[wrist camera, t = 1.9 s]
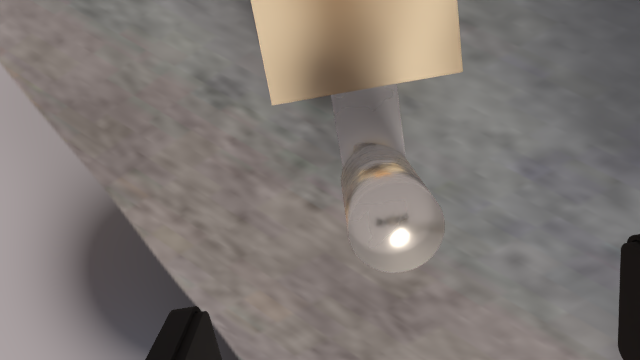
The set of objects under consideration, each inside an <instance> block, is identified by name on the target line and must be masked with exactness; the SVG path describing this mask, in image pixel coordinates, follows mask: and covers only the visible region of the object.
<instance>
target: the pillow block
mask: <svg viewBox="0 0 640 360" xmlns="http://www.w3.org/2000/svg"><path fill="white" fill-rule="evenodd" d="M251 4H252V9H253V14H254V19H255V24H256V28H257V33H258V38H259V43H260V48H261V53H262V58H263V63H264V68H265V73H266V77H267V82H268V87H269V92H270V97H271V102H272V105H277V104H282V103H288V102H294V101H300V100H305V99H311V98H317V97H322V96H328V95H334V94H340V93H345V92H351V91H357V90H362V89H368V88H374V87H379V86H385V85H391V84H397V83H402V82H408V81H414V80H419V79H425V78H431V77H437V76H442V75H448V74H454V73H459V72H463V69H462V56H461V44H460V31H459V18H458V6H457V0H251Z"/></svg>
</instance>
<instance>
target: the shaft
mask: <svg viewBox="0 0 640 360" xmlns="http://www.w3.org/2000/svg"><path fill="white" fill-rule="evenodd" d="M331 100H332V106H333V112H334V118H335V124H336V130H337V136H338V142H339V148H340V154H341V160H342V166H343V170H342V175H341V186H342V193H343V200H344V207H345V215H346V222H347V229H348V237H349V241H350V244H351V247H352V249H353V250H354V252H355V254H356V255H357V256H358V257H359V258H360V259H361V260H362V261H363V262H364V263H365V264H367V265H368V266H370V267H372V268H374V269H376V270H379V271H383V272H390V273H398V272H405V271H409V270H412V269H415V268H417V267H419V266H421V265H422V264H424V263H425V262H427V261H428V260H429V259H430V258H431V257H432V256H433V255H434V254H435V253H436V251H437V250H438V248H439V246H440V245H441V242H442V240H443V236H444V231H445V221H444V215H443V212H442V210H441V208H440V206H439V204H438V203H437V201H436V200H435V198H434V197H433V196H432V194H431V193H430V191H429V190H428V189H427V187H426V186H425V184H424V183H423V182H422V180H421V179H420V178H419V176H418V175H417V173H416V172H415V171H414V169H413V168H412V166H411V165H410V164H409V162H408V161H407V159H406V156H405V148H404V140H403V131H402V123H401V115H400V107H399V99H398V90H397V84H391V85H385V86H379V87H374V88H368V89H362V90H357V91H351V92H345V93H340V94H334V95H331Z"/></svg>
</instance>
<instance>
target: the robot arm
mask: <svg viewBox="0 0 640 360" xmlns="http://www.w3.org/2000/svg"><path fill="white" fill-rule="evenodd" d="M618 348H619V352H620V354H621V356H622V358H623V360H640V234H638V235H632V236H631V237H629V239H628V241H627V243H625V244H623V246H622V247H621V264H620V295H619V327H618ZM145 360H222V358H221V355H220V351H219V348H218V344H217V341H216V337H215V334H214V330H213V327H212V323H211V320H210V317H209V314H208V312H206V311H204V312H201V311H200V309H199V308H198V307H197V306H194V307H188V308H182V309H176V310H172V311H171V312H170V313H169V315H168V317H167V319H166V321H165V323H164V325H163V327H162V329H161V331H160V332H159V334H158V336H157V338H156V340H155V342H154V344H153V346H152V348H151V350H150V352H149V354H148V356H147V358H146V359H145Z"/></svg>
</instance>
